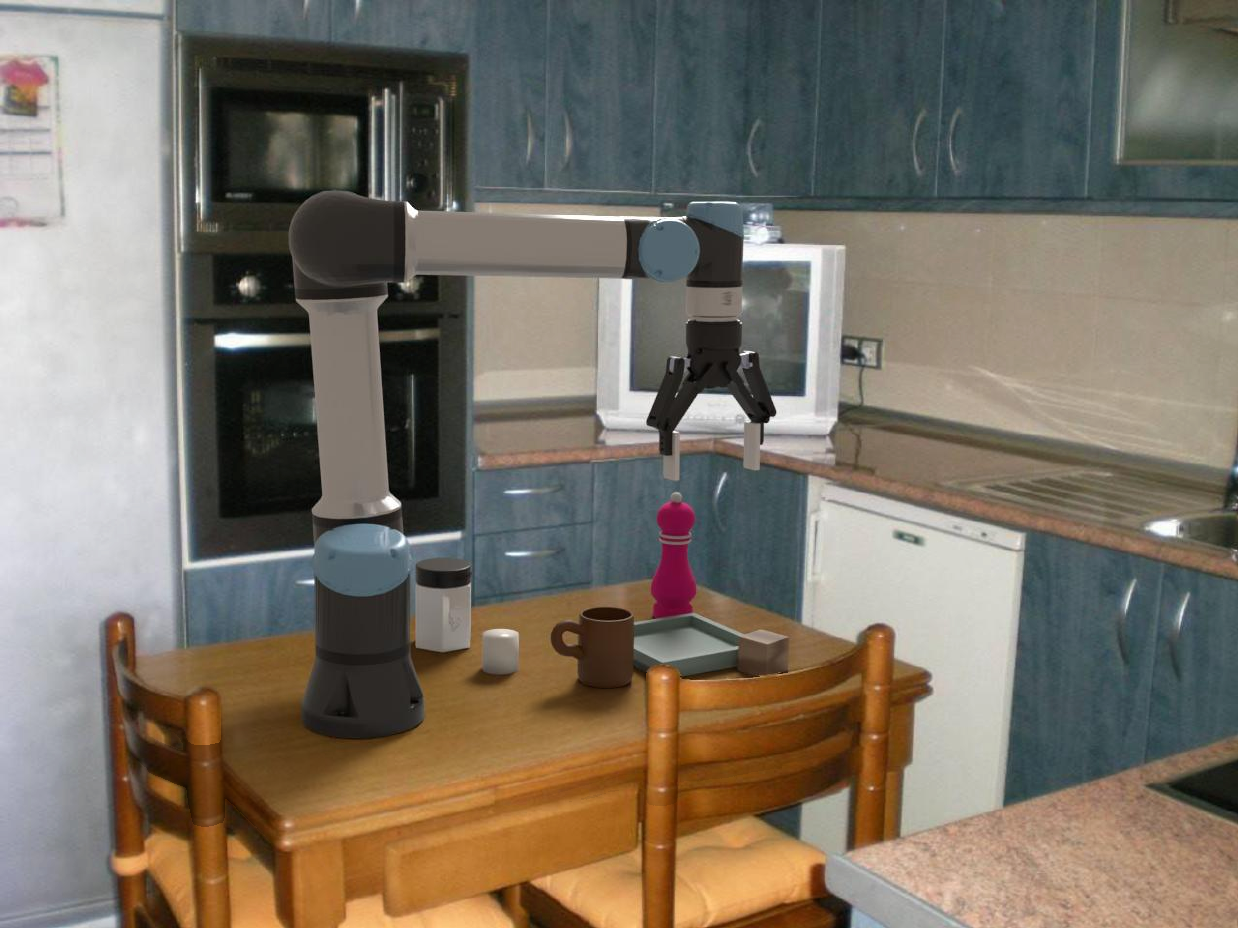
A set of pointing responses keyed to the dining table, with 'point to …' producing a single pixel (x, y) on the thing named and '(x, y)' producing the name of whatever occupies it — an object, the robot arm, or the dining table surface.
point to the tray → (685, 644)
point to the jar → (443, 604)
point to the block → (763, 653)
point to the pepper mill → (674, 560)
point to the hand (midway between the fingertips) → (712, 474)
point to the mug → (600, 645)
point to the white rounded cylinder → (500, 651)
